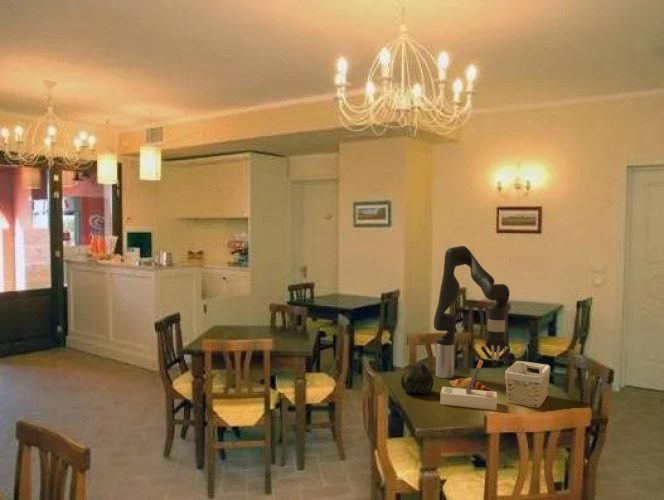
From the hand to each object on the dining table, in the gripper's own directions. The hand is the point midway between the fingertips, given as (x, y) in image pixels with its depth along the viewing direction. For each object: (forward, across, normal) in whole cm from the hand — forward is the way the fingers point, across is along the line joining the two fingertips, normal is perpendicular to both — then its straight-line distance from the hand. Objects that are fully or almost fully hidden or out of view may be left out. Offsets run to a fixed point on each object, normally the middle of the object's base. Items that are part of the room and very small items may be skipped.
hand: (494, 368), depth 240 cm
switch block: (+17, +11, -5) cm, 21 cm away
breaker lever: (+11, +11, 0) cm, 16 cm away
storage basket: (+17, -15, -15) cm, 27 cm away
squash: (+17, +35, -9) cm, 40 cm away
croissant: (+17, +11, -20) cm, 29 cm away
